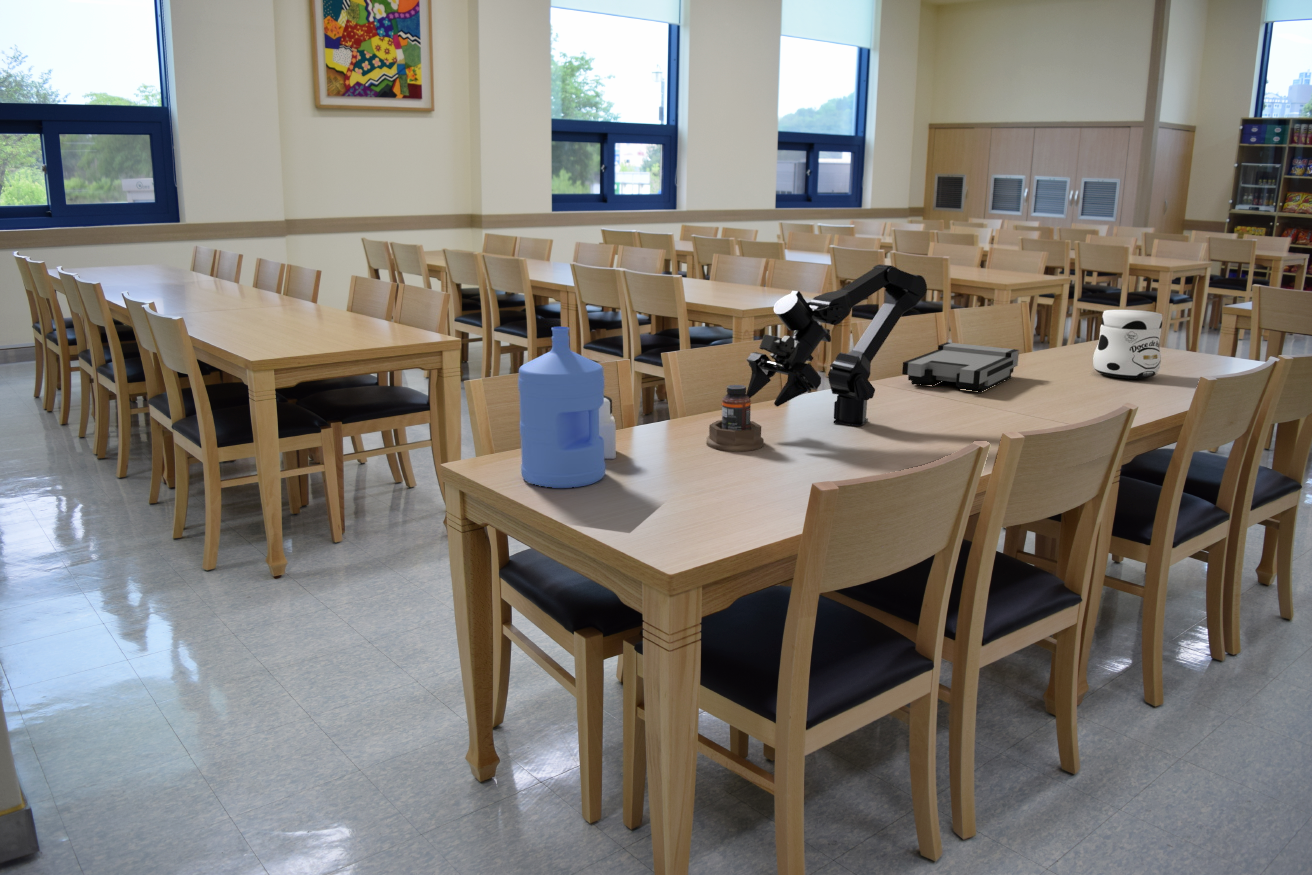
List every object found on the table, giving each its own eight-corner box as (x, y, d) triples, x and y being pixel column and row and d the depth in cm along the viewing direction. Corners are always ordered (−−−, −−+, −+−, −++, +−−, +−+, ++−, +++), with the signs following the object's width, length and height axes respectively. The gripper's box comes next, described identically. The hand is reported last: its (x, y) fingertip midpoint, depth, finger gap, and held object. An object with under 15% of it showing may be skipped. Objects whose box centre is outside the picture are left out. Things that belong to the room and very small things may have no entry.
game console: (901, 387, 261) (903, 357, 259) (944, 369, 286) (946, 342, 284) (977, 398, 249) (980, 366, 247) (1016, 378, 274) (1019, 349, 272)
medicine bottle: (579, 450, 199) (578, 393, 196) (614, 449, 200) (614, 392, 197) (579, 459, 192) (578, 400, 189) (615, 459, 193) (615, 400, 190)
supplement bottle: (748, 435, 207) (749, 383, 204) (751, 442, 201) (753, 389, 198) (720, 435, 207) (721, 383, 204) (723, 442, 201) (724, 389, 198)
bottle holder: (771, 440, 207) (772, 422, 206) (751, 454, 196) (751, 435, 195) (719, 433, 212) (720, 416, 211) (697, 447, 202) (697, 428, 201)
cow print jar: (1154, 384, 265) (1163, 319, 260) (1086, 377, 274) (1093, 314, 269) (1161, 374, 279) (1170, 312, 274) (1097, 368, 288) (1104, 307, 283)
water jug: (505, 484, 177) (500, 331, 170) (545, 461, 191) (541, 319, 184) (583, 494, 172) (581, 337, 164) (618, 470, 186) (617, 324, 178)
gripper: (754, 315, 212) (713, 370, 209) (813, 326, 197) (770, 385, 194) (780, 347, 218) (741, 401, 215) (839, 360, 203) (798, 418, 200)
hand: (761, 401), depth 206 cm, fingers open, 9 cm apart
